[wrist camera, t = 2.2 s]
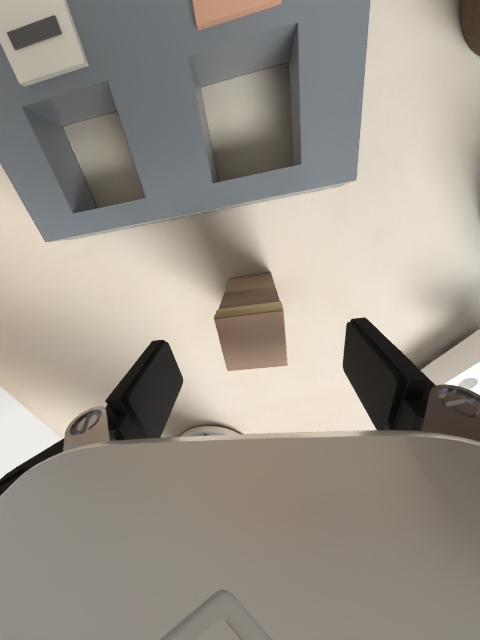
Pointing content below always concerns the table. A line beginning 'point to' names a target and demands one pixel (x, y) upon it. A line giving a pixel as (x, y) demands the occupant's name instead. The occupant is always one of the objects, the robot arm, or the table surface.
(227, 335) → the plug
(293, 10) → the socket block
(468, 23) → the plant pot
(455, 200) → the table surface
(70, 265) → the table surface
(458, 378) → the bracket
